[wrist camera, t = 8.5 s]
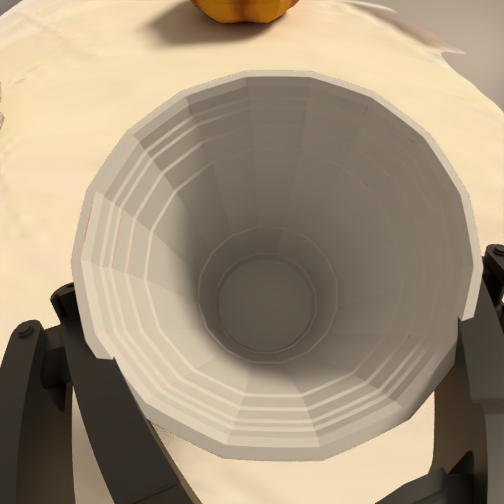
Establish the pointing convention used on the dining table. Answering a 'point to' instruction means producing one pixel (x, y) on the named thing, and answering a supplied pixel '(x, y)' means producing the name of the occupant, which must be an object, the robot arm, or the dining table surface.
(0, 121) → the ceramic pitcher
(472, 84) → the dining table surface
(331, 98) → the plastic cup
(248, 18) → the decorative pumpkin
